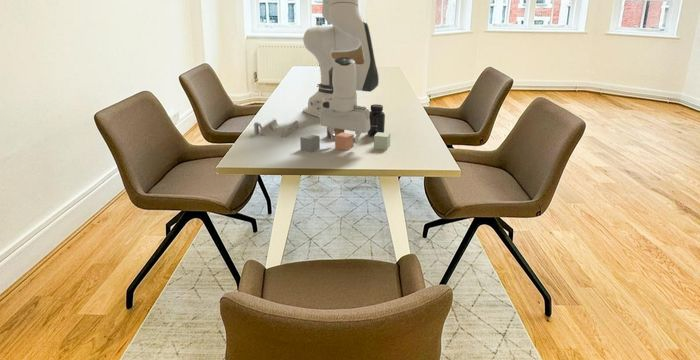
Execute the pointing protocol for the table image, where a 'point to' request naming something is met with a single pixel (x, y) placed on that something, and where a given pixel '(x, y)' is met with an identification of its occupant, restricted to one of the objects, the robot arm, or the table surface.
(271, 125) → the skate ramp
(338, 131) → the walnut cube
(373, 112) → the supplement bottle
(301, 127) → the table surface
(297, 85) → the table surface
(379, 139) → the sage cube
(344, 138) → the terracotta cube
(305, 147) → the slate grey cube
